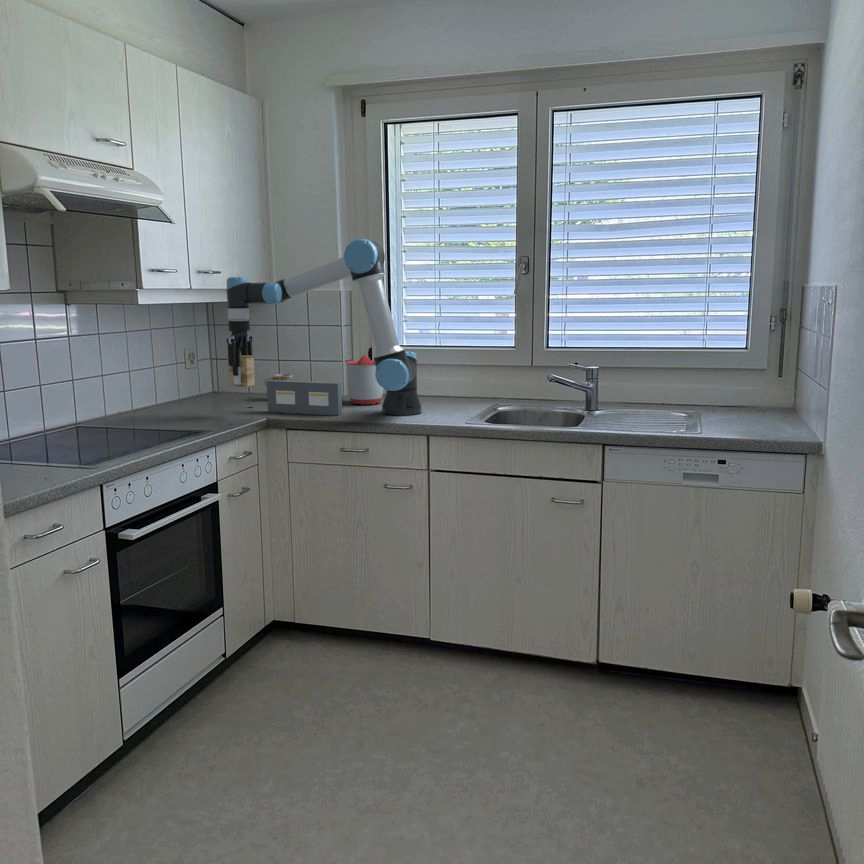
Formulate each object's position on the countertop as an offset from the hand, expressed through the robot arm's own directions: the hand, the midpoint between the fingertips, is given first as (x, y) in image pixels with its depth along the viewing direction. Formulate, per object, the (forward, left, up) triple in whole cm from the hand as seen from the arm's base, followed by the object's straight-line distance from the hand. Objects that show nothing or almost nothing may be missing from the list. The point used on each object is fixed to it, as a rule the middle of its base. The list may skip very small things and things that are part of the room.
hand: (241, 383), depth 289 cm
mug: (+8, -40, -12) cm, 43 cm away
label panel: (-19, -12, -12) cm, 26 cm away
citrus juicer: (-32, -42, -12) cm, 54 cm away
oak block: (0, 0, -1) cm, 1 cm away
